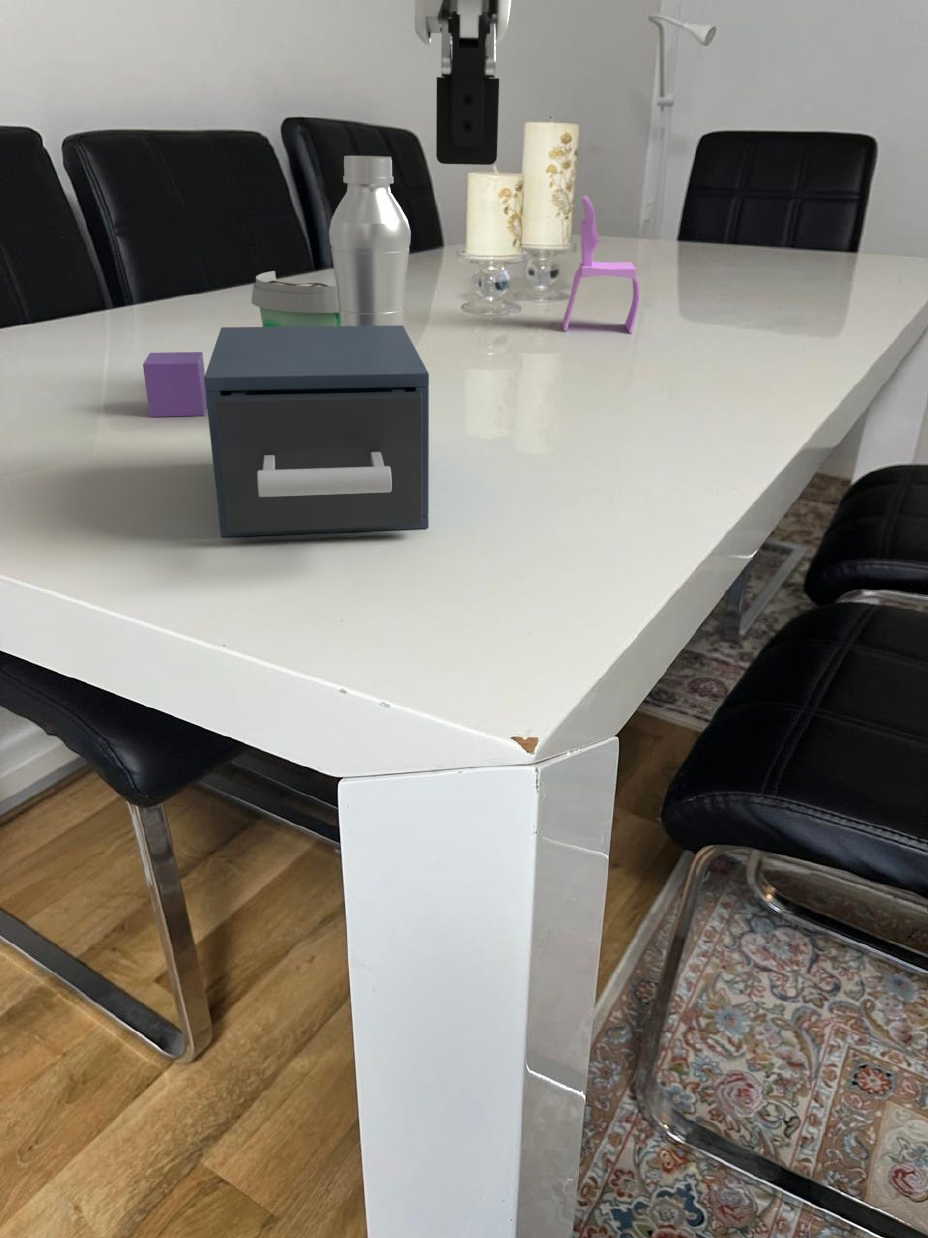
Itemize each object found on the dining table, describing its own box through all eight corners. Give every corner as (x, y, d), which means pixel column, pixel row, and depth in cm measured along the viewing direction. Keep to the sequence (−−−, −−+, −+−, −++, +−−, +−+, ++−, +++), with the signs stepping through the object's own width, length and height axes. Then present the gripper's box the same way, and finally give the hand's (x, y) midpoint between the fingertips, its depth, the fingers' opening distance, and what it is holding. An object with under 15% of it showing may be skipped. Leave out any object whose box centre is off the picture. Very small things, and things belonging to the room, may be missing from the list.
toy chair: (637, 335, 116) (650, 199, 109) (564, 332, 116) (573, 197, 109) (630, 322, 123) (643, 194, 116) (562, 320, 124) (570, 193, 117)
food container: (230, 391, 88) (219, 277, 84) (277, 379, 93) (270, 270, 88) (330, 414, 82) (325, 292, 78) (376, 399, 87) (373, 283, 82)
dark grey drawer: (432, 557, 54) (433, 419, 50) (222, 566, 52) (207, 424, 48) (400, 456, 69) (398, 346, 66) (239, 461, 68) (228, 348, 64)
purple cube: (203, 415, 81) (198, 363, 79) (149, 417, 81) (142, 364, 79) (207, 402, 85) (202, 351, 83) (156, 403, 84) (149, 352, 82)
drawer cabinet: (428, 528, 60) (429, 373, 55) (220, 537, 58) (203, 377, 53) (404, 456, 72) (403, 325, 68) (233, 461, 71) (220, 327, 66)
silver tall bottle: (321, 424, 79) (307, 156, 70) (356, 404, 85) (348, 154, 76) (392, 433, 78) (388, 158, 68) (424, 412, 83) (424, 156, 74)
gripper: (404, -177, 55) (407, 154, 63) (384, -291, 40) (391, 165, 48) (535, -174, 55) (522, 157, 63) (565, -287, 40) (542, 168, 48)
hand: (465, 160), depth 55 cm, fingers open, 9 cm apart
